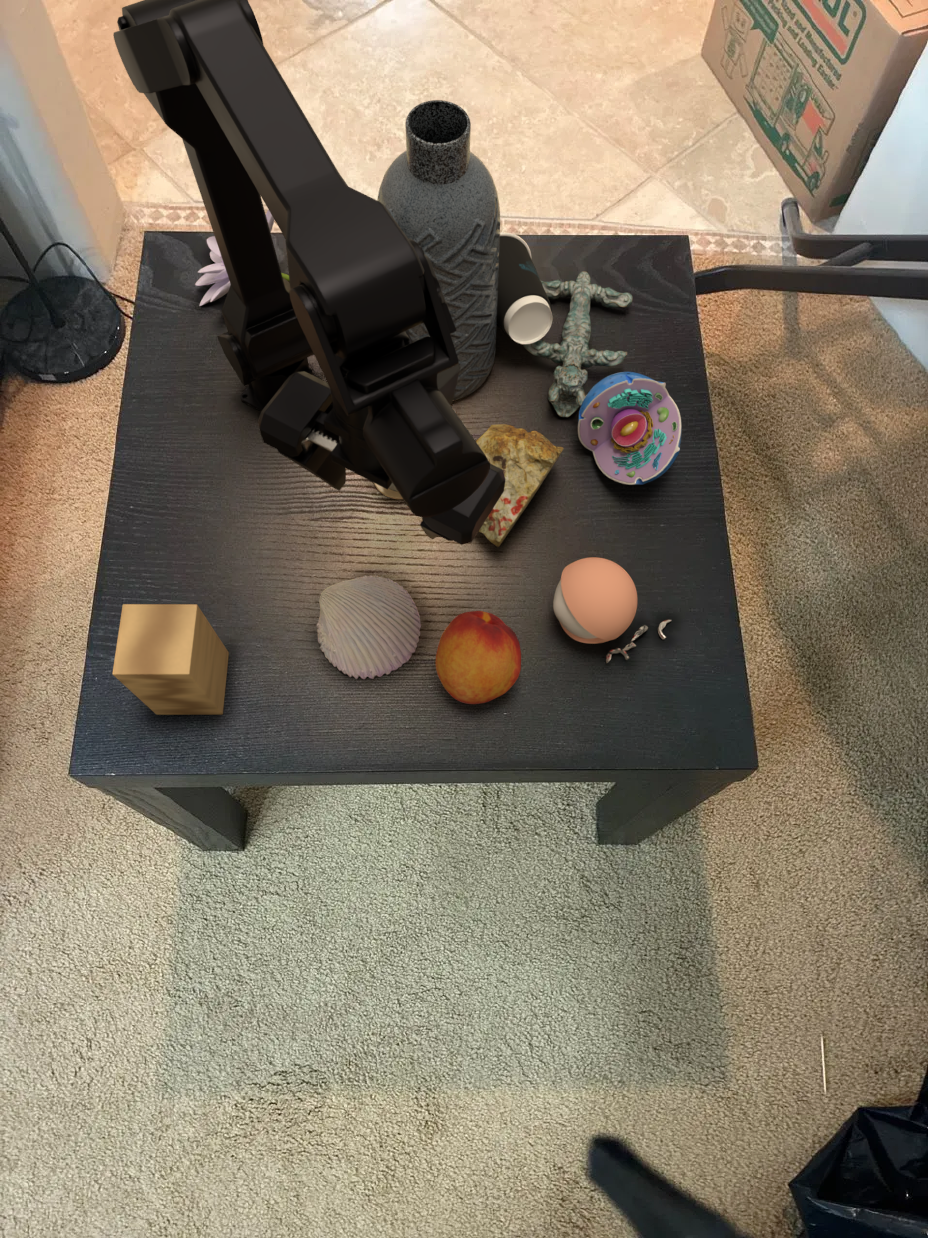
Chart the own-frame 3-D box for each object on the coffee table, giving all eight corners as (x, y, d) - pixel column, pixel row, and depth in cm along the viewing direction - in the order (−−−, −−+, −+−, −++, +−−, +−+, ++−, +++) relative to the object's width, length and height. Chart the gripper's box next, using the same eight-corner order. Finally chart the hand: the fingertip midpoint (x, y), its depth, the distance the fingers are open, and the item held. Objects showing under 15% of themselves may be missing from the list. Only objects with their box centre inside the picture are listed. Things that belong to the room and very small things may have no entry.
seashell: (347, 542, 82) (433, 583, 79) (361, 573, 87) (443, 613, 83) (281, 625, 79) (369, 673, 75) (300, 653, 83) (383, 699, 80)
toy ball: (537, 588, 84) (546, 551, 77) (612, 571, 85) (629, 533, 78) (561, 664, 81) (573, 633, 74) (639, 645, 82) (658, 613, 75)
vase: (412, 299, 97) (402, 50, 71) (512, 337, 96) (539, 97, 69) (362, 379, 93) (332, 146, 67) (465, 421, 91) (476, 199, 65)
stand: (156, 715, 79) (111, 674, 68) (164, 652, 81) (122, 603, 70) (223, 714, 79) (189, 674, 68) (229, 652, 81) (197, 603, 70)
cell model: (633, 520, 88) (582, 477, 81) (596, 440, 95) (547, 395, 88) (719, 462, 84) (673, 411, 77) (674, 383, 90) (628, 330, 84)
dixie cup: (497, 366, 91) (466, 308, 98) (568, 344, 92) (533, 288, 98) (489, 300, 85) (457, 243, 91) (566, 277, 85) (528, 222, 92)
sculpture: (508, 416, 91) (513, 381, 87) (531, 291, 101) (536, 254, 97) (615, 432, 91) (625, 398, 87) (628, 305, 100) (637, 269, 96)
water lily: (312, 200, 99) (242, 153, 94) (336, 255, 90) (259, 206, 84) (249, 305, 106) (180, 266, 100) (264, 367, 96) (188, 328, 91)
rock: (505, 551, 91) (510, 554, 81) (432, 511, 91) (428, 510, 81) (560, 450, 90) (571, 441, 80) (486, 410, 90) (488, 396, 80)
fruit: (536, 667, 81) (546, 636, 74) (479, 730, 79) (484, 704, 72) (473, 615, 83) (476, 580, 76) (415, 675, 81) (413, 644, 73)
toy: (680, 629, 82) (668, 611, 83) (612, 667, 80) (600, 647, 81) (675, 633, 84) (663, 615, 84) (608, 670, 81) (596, 651, 82)
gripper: (550, 370, 60) (528, 486, 75) (323, 263, 63) (344, 395, 78) (471, 490, 57) (465, 588, 71) (234, 370, 60) (274, 488, 74)
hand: (387, 509), depth 74 cm, fingers open, 9 cm apart
